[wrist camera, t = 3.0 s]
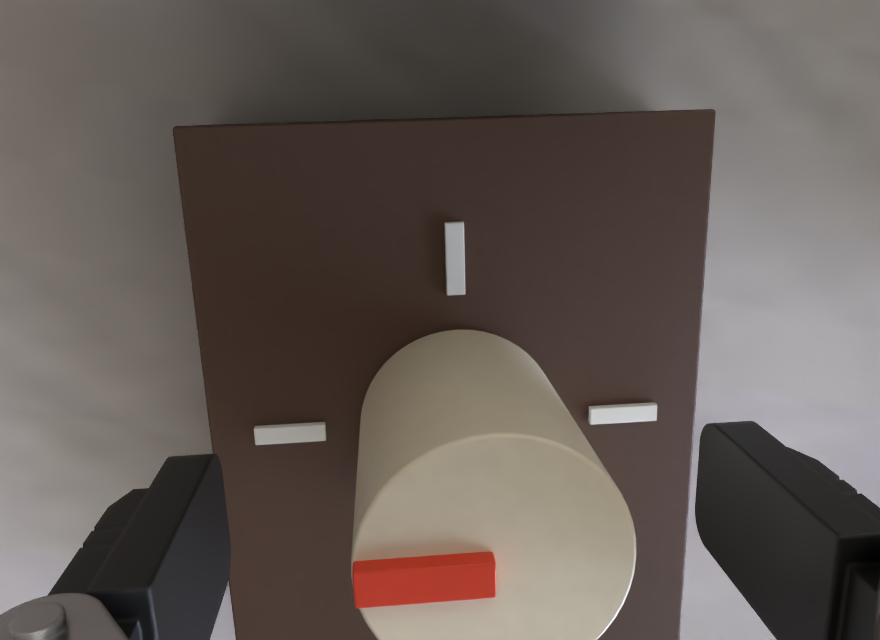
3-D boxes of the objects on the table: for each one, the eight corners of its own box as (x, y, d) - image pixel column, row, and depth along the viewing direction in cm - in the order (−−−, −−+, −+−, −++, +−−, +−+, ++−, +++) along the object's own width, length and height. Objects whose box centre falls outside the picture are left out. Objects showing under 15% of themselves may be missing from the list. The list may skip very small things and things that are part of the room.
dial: (557, 323, 14) (652, 434, 9) (554, 504, 16) (639, 691, 10) (354, 333, 14) (340, 453, 9) (365, 516, 15) (359, 714, 10)
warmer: (658, 110, 17) (720, 109, 14) (636, 571, 20) (682, 653, 17) (209, 124, 16) (168, 126, 13) (262, 599, 19) (239, 690, 16)
